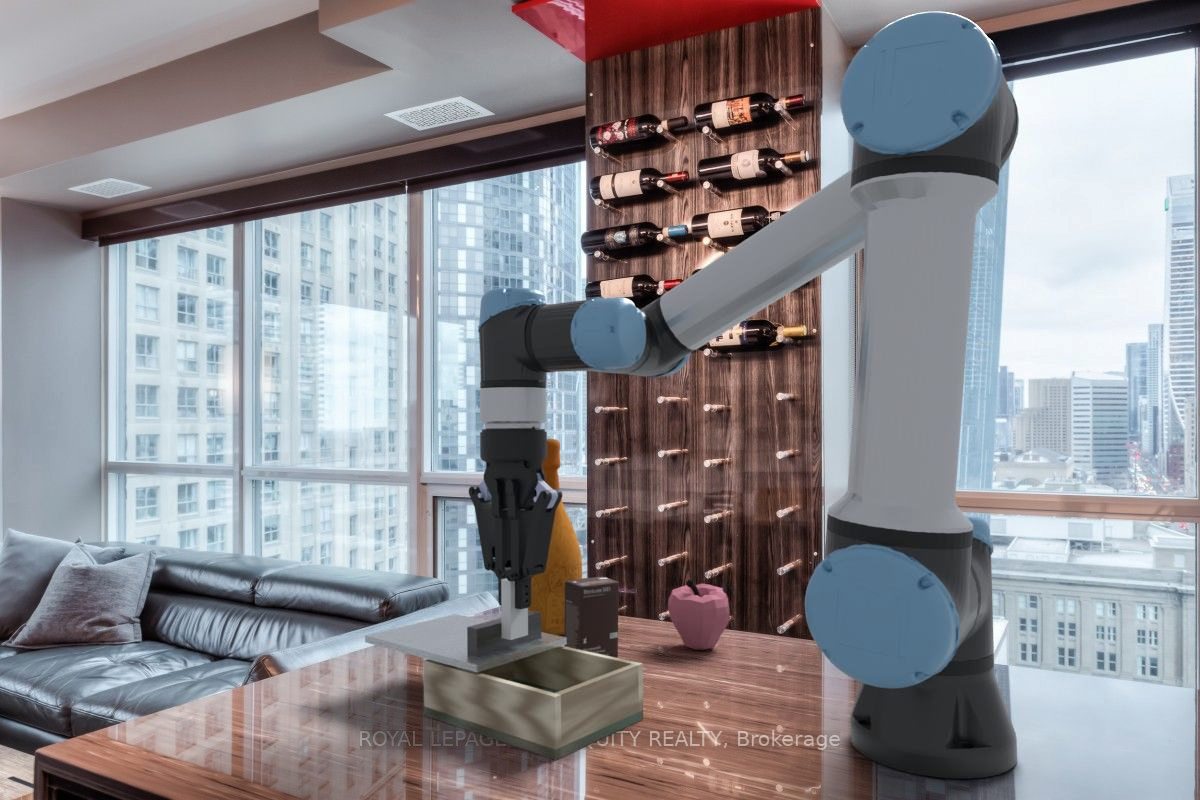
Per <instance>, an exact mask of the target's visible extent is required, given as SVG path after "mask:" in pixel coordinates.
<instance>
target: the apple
mask: <svg viewBox="0 0 1200 800" xmlns="http://www.w3.org/2000/svg"><path fill="white" fill-rule="evenodd" d="M685 583H686V584H685V585H684V586H683V585H682V586H680V587H677V588H674V589H672V590H671V593H670V595H669V598H668V601H667V603H668V605H667V610H668V615H669V618H670V620H671V622H672V624H673V626H674V627H675V630H676V632H677V633H678V635H679V636H680V638H681V640H682V643H683V645H684V646H685V647H687V648H690V649H693V650H695V651H697V650H700V651H705V650H710V649H713V648H715V647H716V645H717V643H718V641H719V640H720V637H721V635H722V634H723V633H724V631H725V630H726V628H727V626H728V625H729V622H730V620H731V617H730V613H731V612H730V605H729V597H728V594H727V593H725V592H724V588H723V587H719V586H714V585H713V584H706V583H699V584H696V583H695V582H694V581H693V580H692V579H688V580H687V581H686V582H685Z"/></svg>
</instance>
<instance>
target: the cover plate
mask: <svg viewBox="0 0 1200 800" xmlns="http://www.w3.org/2000/svg"><path fill="white" fill-rule="evenodd" d="M364 641H365V644H370V645H374V646H378V647H382V648H385V649H389V650H393V651H396V652H399V653H404V654H408V655H411V656H413V657H414V656H415V657H418V658H423V659H426V660H432V661H436V662H440V663H444V664H447V665H451V666H455V667H458V668H462V669H466V670H469V671H473V672H480V671H484V670H487V669H490V668H493V667H496V666H500V665H503V664H506V663H509V662H512V661H515V660H519V659H522V658H525V657H528V656H531V655H534V654H538V653H541V652H544V651H547V650H550V649H553V648H557V647H560V646H564V645H566V644H567V637H564V636H563V635H559V636H557V635H553V634H548V633H543V632H541V612H537V611H528V635H527V636H523V637H520V638H516V639H513V640H508V639H504V638H502V620H501V618H497V619H493V620H485V619H480V618H475V617H472V616H471V617H470V616H466V615H460V614H457V613H456V614H451V615H446V616H441V617H439V618H433V619H429V620H425V621H424V620H423V621H421V622H416V623H411V624H409V625H404V626H400V627H395V628H391V629H386V630H383V631H379V632H374V633H370V634H367V635H365V636H364Z"/></svg>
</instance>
